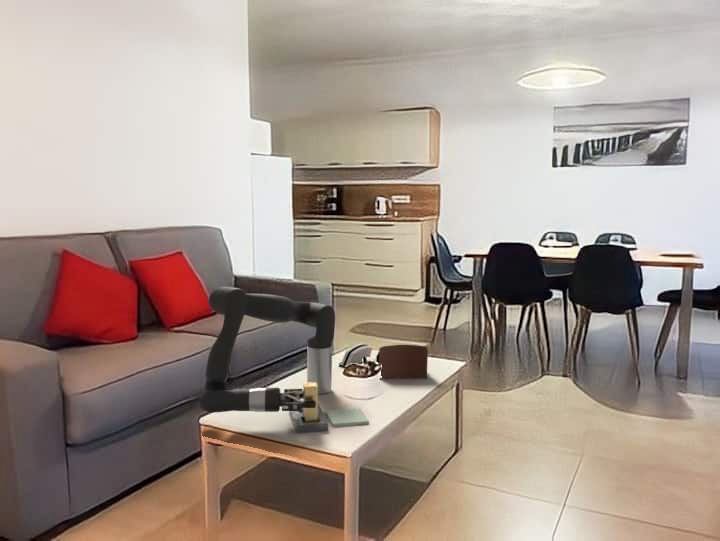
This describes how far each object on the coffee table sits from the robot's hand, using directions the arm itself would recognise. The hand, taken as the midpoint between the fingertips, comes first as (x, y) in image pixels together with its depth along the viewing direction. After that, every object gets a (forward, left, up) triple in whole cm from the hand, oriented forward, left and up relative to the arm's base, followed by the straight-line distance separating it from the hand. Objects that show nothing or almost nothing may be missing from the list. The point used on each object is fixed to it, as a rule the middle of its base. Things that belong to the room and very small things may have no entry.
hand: (315, 399), depth 198 cm
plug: (0, -2, -9) cm, 9 cm away
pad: (-5, +11, -9) cm, 15 cm away
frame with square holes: (-5, -2, -9) cm, 10 cm away
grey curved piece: (-67, +29, -9) cm, 73 cm away
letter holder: (-48, +44, -9) cm, 65 cm away
